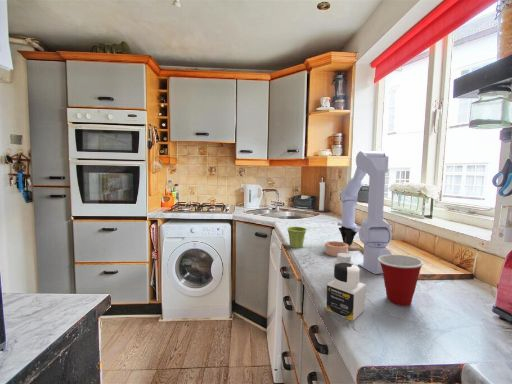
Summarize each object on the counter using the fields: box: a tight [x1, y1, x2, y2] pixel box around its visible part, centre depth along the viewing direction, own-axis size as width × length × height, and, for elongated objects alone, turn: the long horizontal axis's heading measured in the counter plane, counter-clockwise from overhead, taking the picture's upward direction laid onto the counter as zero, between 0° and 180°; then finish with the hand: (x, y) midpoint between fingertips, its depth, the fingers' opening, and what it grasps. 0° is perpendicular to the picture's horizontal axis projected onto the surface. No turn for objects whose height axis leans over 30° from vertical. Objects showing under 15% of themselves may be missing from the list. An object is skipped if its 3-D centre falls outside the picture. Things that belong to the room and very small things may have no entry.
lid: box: [345, 236, 361, 252], centre depth 117 cm, size 11×11×5 cm
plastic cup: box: [378, 254, 424, 307], centre depth 69 cm, size 11×11×12 cm
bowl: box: [324, 240, 349, 258], centre depth 108 cm, size 9×9×4 cm
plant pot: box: [286, 226, 307, 249], centre depth 119 cm, size 9×9×9 cm
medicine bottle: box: [326, 263, 366, 322], centre depth 64 cm, size 7×7×12 cm
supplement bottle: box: [333, 253, 354, 267], centre depth 77 cm, size 6×6×10 cm
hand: (347, 243), depth 117 cm, fingers closed on lid, 3 cm apart
